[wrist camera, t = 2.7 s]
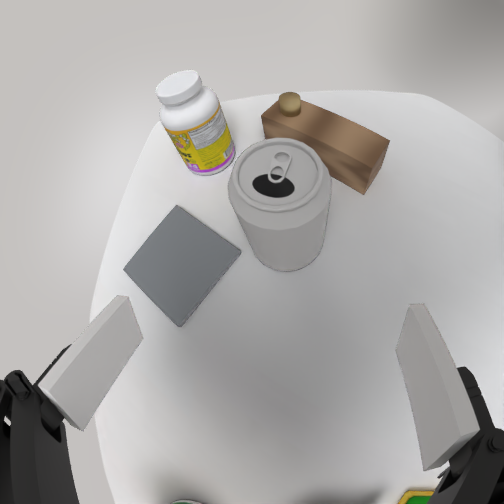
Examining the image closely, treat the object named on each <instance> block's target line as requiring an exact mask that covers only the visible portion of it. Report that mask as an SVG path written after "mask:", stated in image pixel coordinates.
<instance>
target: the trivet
mask: <svg viewBox="0 0 504 504" xmlns="http://www.w3.org/2000/svg"><path fill="white" fill-rule="evenodd" d="M240 254H241V252H240V250H238V249H237V248H236V247H234V246H233V245H232V244H230V243H229V242H227V241H226V240H225V239H223V238H222V237H220V236H219V235H218V234H216V233H215V232H213V231H212V230H211V229H209V228H208V227H207V226H205V225H204V224H202V223H201V222H200V221H198V220H197V219H195V218H194V217H193V216H191V215H190V214H189V213H187V212H186V211H184V210H183V209H182V208H180V207H179V206H178V205H176V206H175V207H174V208H173V209H172V210H171V212H170V213H169V214H168V215H167V216H166V217H165V219H164V220H163V221H162V222H161V223H160V224H159V226H158V227H157V228H156V229H155V230H154V232H153V233H152V234H151V235H150V236H149V238H148V239H147V240H146V241H145V242H144V244H143V245H142V246H141V247H140V249H139V250H138V251H137V252H136V254H135V255H134V256H133V257H132V259H131V260H130V261H129V262H128V264H127V265H126V266H125V268H124V269H123V270H124V271H125V272H126V273H127V274H128V276H129V277H130V278H131V279H132V280H133V281H134V282H135V283H136V284H137V285H138V287H139V288H140V289H141V290H142V291H143V292H144V293H145V294H146V295H147V296H148V297H149V298H150V299H151V300H152V301H153V302H154V303H155V304H156V305H157V306H158V307H159V308H160V309H161V310H162V311H163V312H164V313H165V314H166V315H167V316H168V317H169V318H170V319H171V320H172V321H173V322H174V323H175V324H176V325H177V326H178V327H181V326H182V325H183V324H184V323H185V322H186V320H187V319H188V318H189V317H190V315H191V314H192V313H193V312H194V310H195V309H196V308H197V307H198V305H199V304H200V303H201V302H202V300H203V299H204V298H205V297H206V296H207V294H208V293H209V292H210V291H211V289H212V288H213V287H214V286H215V284H216V283H217V282H218V281H219V280H220V278H221V277H222V276H223V275H224V273H225V272H226V271H227V270H228V268H229V267H230V266H231V265H232V264H233V262H234V261H235V260H236V259H237V257H238V256H239V255H240Z"/></svg>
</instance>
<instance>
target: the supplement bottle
mask: <svg viewBox="0 0 504 504" xmlns="http://www.w3.org/2000/svg"><path fill="white" fill-rule="evenodd" d="M155 92H156V95H157V97H158V99H159V101H160V102H161V103H162V106H161V109H160V113H159V116H160V121H161V123H162V125H163V126H164V128H165V130H166V131H167V133H168V135H169V136H170V138H171V140H172V142H173V143H174V145H175V147H176V149H177V150H178V152H179V154H180V155H181V157H182V159H183V160H184V162H185V164H186V165H187V167H188V168H189V169H190V170H191V171H192V172H193V173H195V174H198V175H212V174H215V173H218V172H220V171H222V170H223V169H224V168H226V167H227V166H228V165H229V164H230V163H231V161H232V159H233V157H234V154H235V148H234V144H233V141H232V138H231V135H230V132H229V129H228V126H227V123H226V121H225V118H224V115H223V112H222V109H221V106H220V103H219V100H218V98H217V95H216V93H215V92H214V91H213V90H212V89H210V88H208V87H206V86H202V81H201V78H200V76H199V74H198V73H197V72H196V71H194V70H184V71H180V72H176V73H174V74H172V75H170V76H168V77H167V78H165V79H164V80H163V81H162V82H160V83H159V85H158V86H157V88H156V91H155Z"/></svg>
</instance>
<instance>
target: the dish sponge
mask: <svg viewBox="0 0 504 504" xmlns="http://www.w3.org/2000/svg"><path fill="white" fill-rule="evenodd" d="M433 493H434V491H408V492H406V493H405V494H404V495H403V497H402V498H401V500H400V501H399V503H398V504H426V503H427V502H428V500H429V499H430V497H431V496H432V494H433Z"/></svg>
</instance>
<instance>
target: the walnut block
mask: <svg viewBox="0 0 504 504" xmlns="http://www.w3.org/2000/svg"><path fill="white" fill-rule="evenodd" d="M261 119H262V124H263V128H264V133H265V139H272V138H291V139H294V140H297V141H300V142H303V143H305V144H306V145H308V146H309V147H311V148H312V149H313V150H314V151H315V152H316V153H317V155H318V156H319V157H320V158H321V161H322V162H323V163H324V165H325V166H326V167H327V168H328V171H329V174H330V176H332V177H334V178H335V179H337V180H339V181H341V182H343V183H344V184H346V185H348V186H350V187H351V188H353V189H355V190H356V191H358V192H360V193H361V194H363V195H364V194H365V192H366V191H367V189H368V188H369V186H370V184H371V183H372V181H373V180H374V178H375V177H376V175H377V173H378V172H379V170H380V169H381V166H382V163H383V160H384V157H385V154H386V151H387V148H388V145H389V142H390V140H388V139H386V138H384V137H382V136H380V135H379V134H377V133H375V132H373V131H371V130H369V129H367V128H365V127H363V126H361V125H359V124H357V123H355V122H352V121H350V120H348V119H346V118H344V117H341V116H339V115H337V114H335V113H332V112H330V111H328V110H325V109H323V108H320V107H318V106H315V105H313V104H310V103H308V102H305V101H303V100H300V96H299V95H298V94H297V93H294V92H286V93H283V94H281V95H280V96H279V100H278V101H277V102H276V103H274V104H273V105H272V106H271V107H270V108H269V109H268V110H266V111H265V112H264V113H263V114H262V115H261Z"/></svg>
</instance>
